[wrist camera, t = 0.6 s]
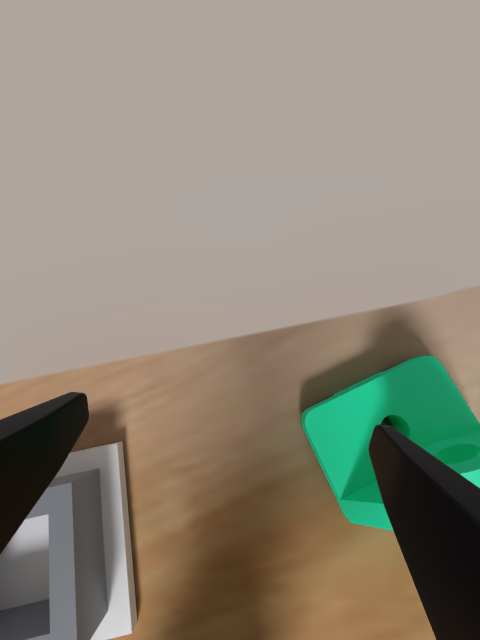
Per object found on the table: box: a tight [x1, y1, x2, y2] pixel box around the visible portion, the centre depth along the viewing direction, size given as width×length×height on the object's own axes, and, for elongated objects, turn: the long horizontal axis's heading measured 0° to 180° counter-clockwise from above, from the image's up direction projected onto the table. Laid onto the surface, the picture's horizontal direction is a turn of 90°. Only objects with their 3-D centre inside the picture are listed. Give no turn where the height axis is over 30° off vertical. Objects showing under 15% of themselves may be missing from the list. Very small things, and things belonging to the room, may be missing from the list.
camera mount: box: [301, 355, 480, 530], centre depth 18 cm, size 12×8×10 cm, turn 114°
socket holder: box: [0, 441, 137, 640], centre depth 18 cm, size 12×12×4 cm
